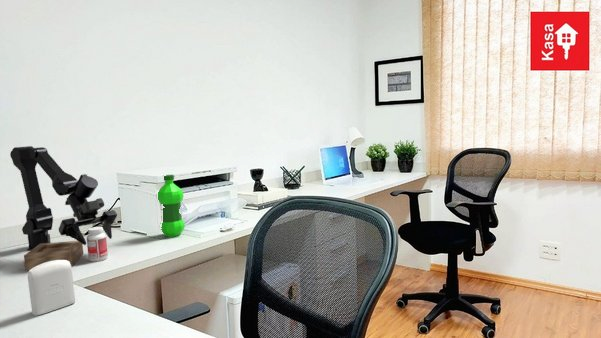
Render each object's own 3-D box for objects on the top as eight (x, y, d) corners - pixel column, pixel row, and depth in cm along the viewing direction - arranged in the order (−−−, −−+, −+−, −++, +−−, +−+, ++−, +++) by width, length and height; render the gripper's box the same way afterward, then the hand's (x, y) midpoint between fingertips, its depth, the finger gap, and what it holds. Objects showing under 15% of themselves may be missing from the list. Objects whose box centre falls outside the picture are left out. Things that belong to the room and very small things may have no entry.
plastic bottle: (184, 237, 180) (180, 176, 177) (157, 239, 178) (152, 177, 175) (187, 231, 190) (183, 173, 187) (161, 233, 188) (157, 174, 185)
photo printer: (35, 317, 110) (30, 269, 108) (29, 313, 113) (23, 266, 111) (78, 303, 118) (73, 258, 116) (71, 299, 120) (66, 255, 119)
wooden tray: (25, 270, 145) (23, 255, 145) (41, 257, 159) (40, 243, 159) (71, 266, 148) (70, 251, 147) (83, 254, 162) (82, 240, 161)
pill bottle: (107, 255, 159) (104, 225, 158) (108, 260, 154) (105, 228, 153) (88, 258, 157) (85, 227, 155) (88, 263, 151) (85, 231, 150)
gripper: (58, 196, 148) (77, 233, 142) (112, 188, 162) (131, 221, 156) (51, 217, 154) (68, 253, 148) (103, 207, 168) (121, 239, 162)
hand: (98, 241), depth 154 cm, fingers open, 9 cm apart
